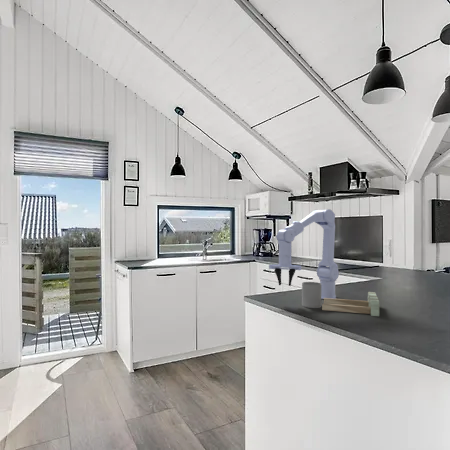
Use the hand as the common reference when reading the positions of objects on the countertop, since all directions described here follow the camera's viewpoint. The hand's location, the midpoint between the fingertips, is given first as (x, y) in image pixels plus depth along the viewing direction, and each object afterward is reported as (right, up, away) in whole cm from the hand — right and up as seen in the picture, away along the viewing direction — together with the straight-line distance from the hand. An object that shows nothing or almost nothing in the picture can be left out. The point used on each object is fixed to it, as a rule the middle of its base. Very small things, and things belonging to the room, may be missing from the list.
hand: (284, 285), depth 161 cm
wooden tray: (+26, -9, -9) cm, 28 cm away
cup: (+11, -9, -4) cm, 15 cm away
